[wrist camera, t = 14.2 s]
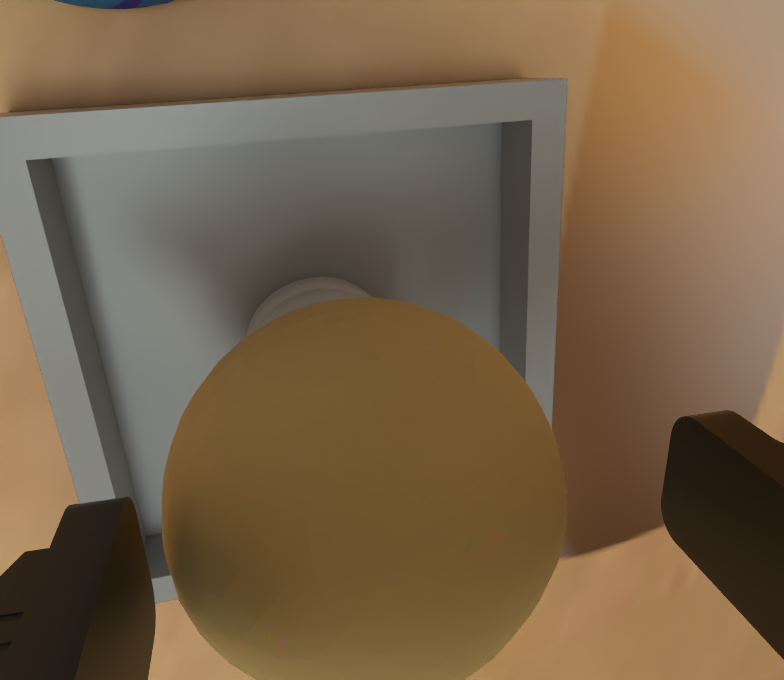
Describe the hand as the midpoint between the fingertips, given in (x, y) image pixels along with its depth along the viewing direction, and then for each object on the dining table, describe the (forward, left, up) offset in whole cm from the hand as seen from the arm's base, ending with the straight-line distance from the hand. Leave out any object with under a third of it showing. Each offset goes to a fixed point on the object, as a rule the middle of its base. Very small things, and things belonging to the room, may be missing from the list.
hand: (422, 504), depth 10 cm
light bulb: (+1, +1, -9) cm, 8 cm away
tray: (+1, +1, -9) cm, 9 cm away
